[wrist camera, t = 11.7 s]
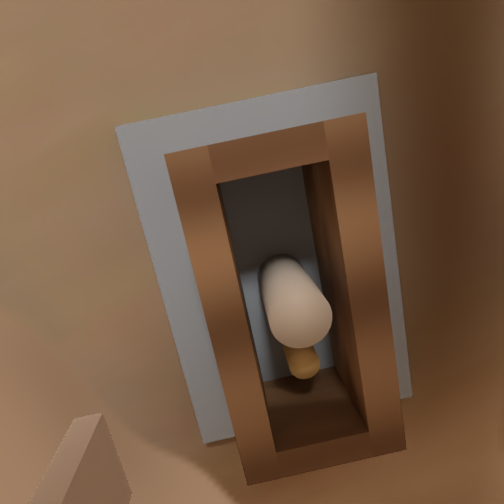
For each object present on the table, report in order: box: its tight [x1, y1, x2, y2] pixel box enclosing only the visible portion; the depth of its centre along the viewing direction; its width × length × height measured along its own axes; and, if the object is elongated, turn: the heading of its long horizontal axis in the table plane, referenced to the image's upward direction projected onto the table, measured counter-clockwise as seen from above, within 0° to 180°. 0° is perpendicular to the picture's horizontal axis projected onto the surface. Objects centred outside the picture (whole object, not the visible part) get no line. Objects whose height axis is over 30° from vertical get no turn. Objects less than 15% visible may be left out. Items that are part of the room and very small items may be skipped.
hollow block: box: [164, 112, 406, 485], centre depth 20 cm, size 16×8×6 cm, turn 12°
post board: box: [115, 72, 413, 444], centre depth 21 cm, size 20×14×7 cm
